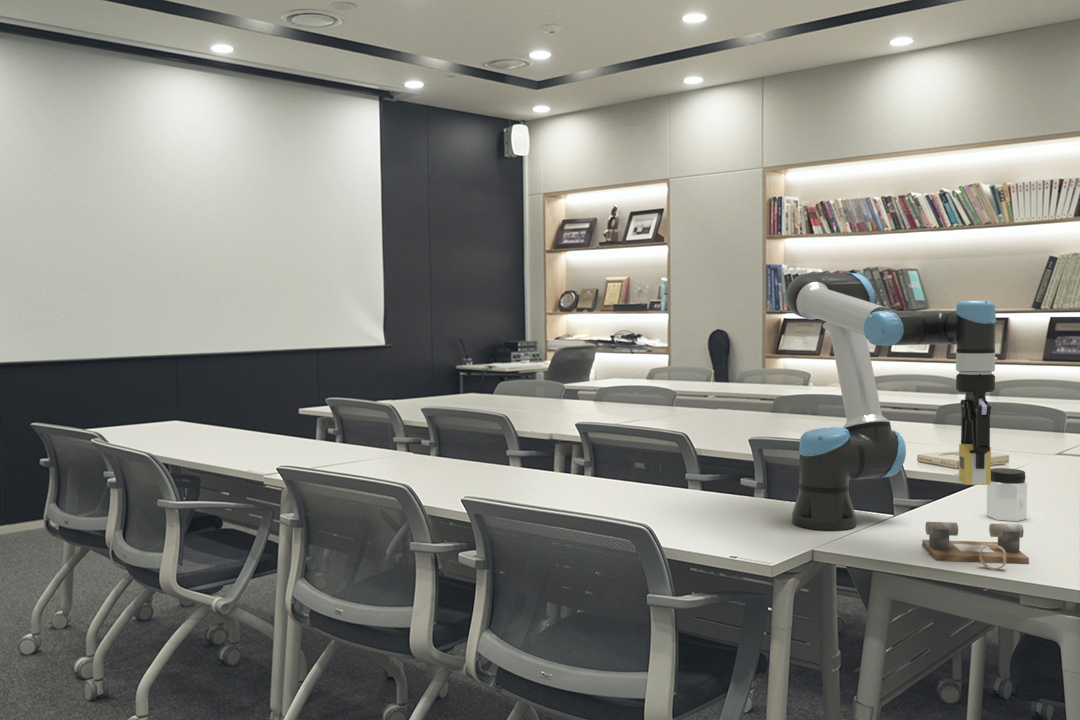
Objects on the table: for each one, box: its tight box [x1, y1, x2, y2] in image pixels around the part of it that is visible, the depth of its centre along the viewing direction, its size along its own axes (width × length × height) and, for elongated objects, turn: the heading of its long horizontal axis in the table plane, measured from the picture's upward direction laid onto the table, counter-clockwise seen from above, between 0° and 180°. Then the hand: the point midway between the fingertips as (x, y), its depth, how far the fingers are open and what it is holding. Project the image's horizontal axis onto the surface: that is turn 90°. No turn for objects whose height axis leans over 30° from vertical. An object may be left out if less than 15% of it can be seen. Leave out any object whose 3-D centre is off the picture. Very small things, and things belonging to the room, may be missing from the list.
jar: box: [986, 467, 1028, 523], centre depth 232 cm, size 9×8×12 cm
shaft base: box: [921, 521, 1030, 564], centre depth 198 cm, size 19×13×7 cm
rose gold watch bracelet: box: [979, 544, 1007, 570], centre depth 187 cm, size 3×5×5 cm, turn 55°
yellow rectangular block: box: [958, 443, 992, 486], centre depth 197 cm, size 5×5×8 cm
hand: (974, 481), depth 197 cm, fingers closed on yellow rectangular block, 5 cm apart
